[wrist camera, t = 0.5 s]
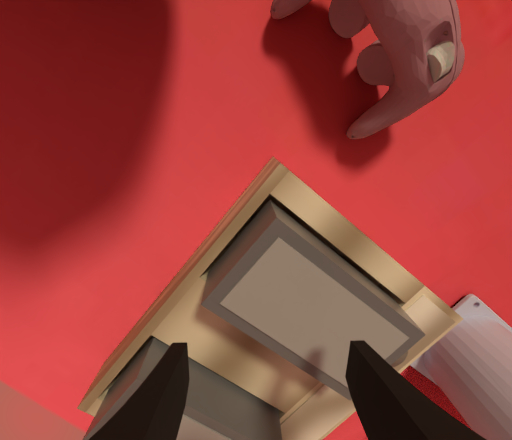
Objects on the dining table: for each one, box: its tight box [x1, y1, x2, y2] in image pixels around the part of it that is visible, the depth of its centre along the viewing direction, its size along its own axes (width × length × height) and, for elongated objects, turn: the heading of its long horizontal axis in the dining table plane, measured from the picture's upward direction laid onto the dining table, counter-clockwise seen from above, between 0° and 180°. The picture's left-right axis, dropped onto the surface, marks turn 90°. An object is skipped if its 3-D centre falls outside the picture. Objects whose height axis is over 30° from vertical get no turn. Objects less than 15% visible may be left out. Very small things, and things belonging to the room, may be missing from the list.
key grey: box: [201, 200, 425, 400], centre depth 17 cm, size 11×6×4 cm, turn 51°
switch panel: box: [77, 157, 463, 440], centre depth 21 cm, size 16×22×4 cm
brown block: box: [83, 337, 282, 440], centre depth 19 cm, size 11×6×4 cm, turn 51°
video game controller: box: [270, 0, 464, 139], centre depth 15 cm, size 10×5×7 cm, turn 38°
